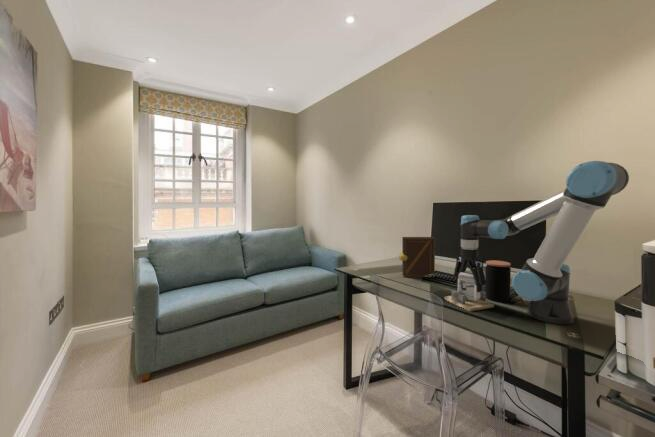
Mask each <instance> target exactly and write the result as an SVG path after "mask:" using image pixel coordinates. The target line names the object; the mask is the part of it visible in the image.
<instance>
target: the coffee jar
mask: <svg viewBox="0 0 655 437" xmlns="http://www.w3.org/2000/svg"><path fill="white" fill-rule="evenodd" d="M511 265H512V264H511V262H508V261H504V260H492V259H491V260H485V272H484V276H485V281H486V284H484V292H486V299H488V300H490V301H492V302H498V303H500V302H501V303H504V302H508V301H509V300H510V298H511V276H512V275H511V274H512V273H511V271H512V269H511Z"/></svg>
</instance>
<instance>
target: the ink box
mask: <svg viewBox="0 0 655 437" xmlns="http://www.w3.org/2000/svg"><path fill="white" fill-rule="evenodd" d="M478 282H479V281H478ZM475 284H476V282H475V279H474V277H473V274H472V272H466V271H465V272H461V273H459V280H458V284H457V292H458V293H460V294H463V295H465V299H467V300H472V301H478V300H479V299H474V291H475Z"/></svg>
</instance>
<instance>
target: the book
mask: <svg viewBox="0 0 655 437" xmlns="http://www.w3.org/2000/svg"><path fill="white" fill-rule="evenodd" d="M401 242H402V252H401V253H399V254H398V260H400V261H401V262H402V264H401V265H402V267H401V268H402V276H403V278H421V277H423V276H425V275H428V274H431V273H434V272H435V271H436V268H435V267H436V265H435V263H436V262H435V261H436V259H435V256H436V252H435V251H436V250H435V249H436V248H435V247H436V238H435V237H433V236H402V240H401ZM421 279H422V278H421Z"/></svg>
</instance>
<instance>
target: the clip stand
mask: <svg viewBox="0 0 655 437" xmlns="http://www.w3.org/2000/svg"><path fill="white" fill-rule="evenodd" d="M444 299H445V301H446V300H447V302H448V301H449V303H451V304H454V305H456V306H457V307H460V308H461V307H462V309H463V308H464V310H466V311H468V312H475V311H480V310H485V309H492V308H495V303H493V302H491V301H488V300H487V297H486V292H485V291H484V290H482V291H481V292H480V298H479V300H478V301H472V300H467V299H465V295H463V294H460V293H458V291H455V290H452V291H451V295H446V296H444Z"/></svg>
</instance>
